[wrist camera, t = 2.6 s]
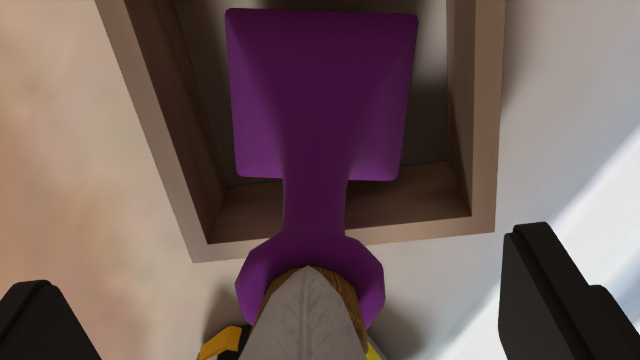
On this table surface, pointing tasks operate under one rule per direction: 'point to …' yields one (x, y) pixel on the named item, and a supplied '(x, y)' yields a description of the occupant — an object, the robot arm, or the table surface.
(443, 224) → the divided wooden tray
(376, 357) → the gaming controller
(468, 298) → the table surface
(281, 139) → the perfume bottle
